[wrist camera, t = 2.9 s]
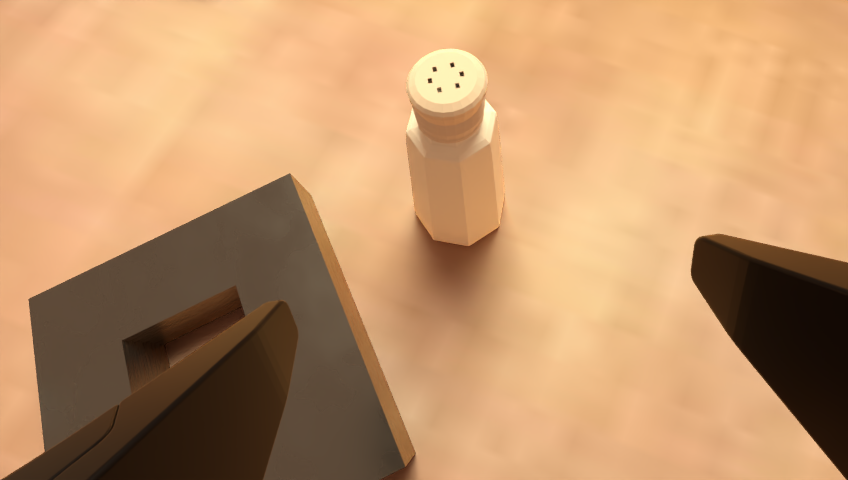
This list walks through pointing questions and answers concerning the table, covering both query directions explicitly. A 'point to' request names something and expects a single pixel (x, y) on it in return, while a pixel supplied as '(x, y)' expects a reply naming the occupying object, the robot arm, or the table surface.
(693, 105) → the table surface
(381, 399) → the holder block
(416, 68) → the pepper shaker
